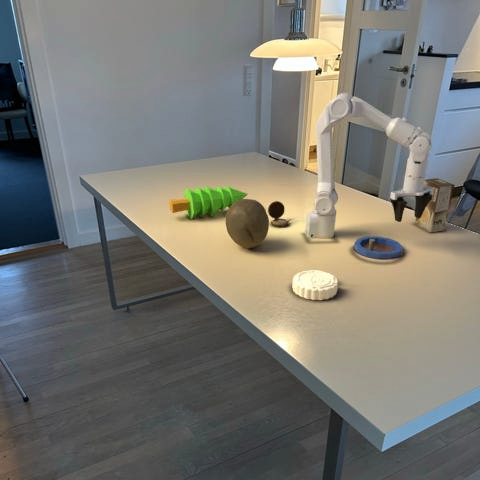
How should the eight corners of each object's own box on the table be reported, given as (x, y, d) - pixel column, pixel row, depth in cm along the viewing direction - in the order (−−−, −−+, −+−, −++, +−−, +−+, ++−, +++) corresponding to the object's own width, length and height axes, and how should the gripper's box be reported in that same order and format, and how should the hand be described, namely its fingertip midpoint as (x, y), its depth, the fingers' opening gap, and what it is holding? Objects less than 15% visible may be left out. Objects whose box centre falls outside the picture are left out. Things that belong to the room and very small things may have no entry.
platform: (359, 263, 146) (361, 249, 144) (347, 244, 159) (348, 231, 157) (409, 262, 147) (412, 249, 145) (392, 243, 160) (395, 230, 157)
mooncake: (283, 289, 131) (283, 277, 130) (310, 276, 139) (311, 264, 137) (318, 305, 124) (319, 293, 122) (346, 290, 131) (347, 278, 130)
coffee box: (445, 230, 170) (456, 184, 162) (430, 232, 168) (440, 186, 160) (427, 221, 177) (437, 177, 169) (413, 224, 175) (422, 179, 167)
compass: (274, 228, 170) (275, 208, 167) (267, 220, 177) (267, 201, 173) (295, 226, 172) (297, 206, 169) (287, 218, 179) (288, 199, 175)
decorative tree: (167, 183, 173) (244, 172, 182) (167, 209, 182) (241, 197, 191) (176, 204, 167) (256, 192, 176) (175, 229, 176) (251, 216, 186)
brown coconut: (276, 243, 159) (278, 198, 151) (255, 258, 149) (256, 210, 141) (239, 234, 165) (239, 191, 157) (216, 249, 155) (215, 202, 147)
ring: (361, 259, 146) (362, 254, 145) (349, 241, 158) (350, 236, 157) (407, 258, 147) (409, 253, 146) (392, 240, 159) (393, 235, 158)
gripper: (404, 181, 139) (397, 226, 146) (444, 175, 144) (435, 219, 151) (388, 175, 145) (382, 219, 152) (427, 170, 150) (419, 213, 157)
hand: (407, 219), depth 152 cm, fingers open, 7 cm apart
